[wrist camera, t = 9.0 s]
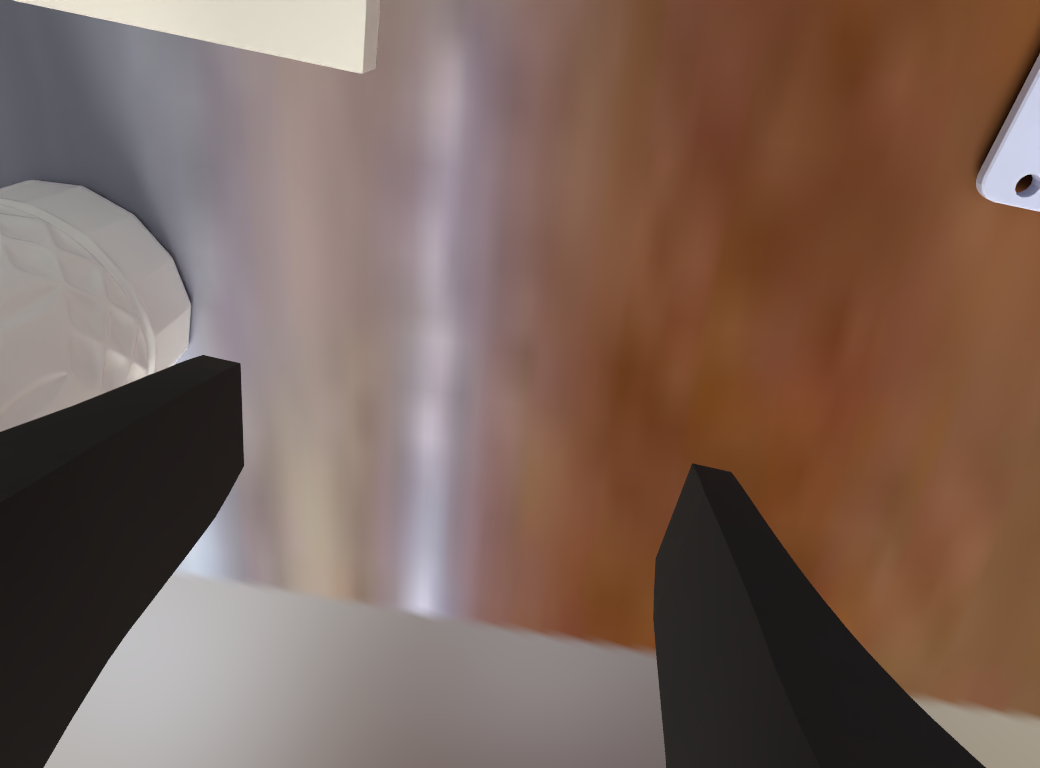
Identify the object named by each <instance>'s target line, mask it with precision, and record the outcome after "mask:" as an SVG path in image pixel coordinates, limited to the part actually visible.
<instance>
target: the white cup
mask: <svg viewBox="0 0 1040 768" xmlns="http://www.w3.org/2000/svg"><path fill="white" fill-rule="evenodd" d="M190 317H191V303H190V300H189V298H188V295H187V293H186V290H185V288H184V285H183V283H182V280H181V277H180V275H179V272H178V270H177V268H176V265H175V263H174V260H173V258H172V257H171V255H170V254H169V253H168V252H167V251H166V250H165V249H164V248H163V246H162V245H161V244H160V243H159V242H158V241H157V240H156V239H155V237H154V236H153V235H152V234H151V233H150V232H149V231H148V230H147V228H146V227H145V226H144V225H143V224H142V223H141V222H140V221H139V219H138V218H137V217H136V216H135V215H134V214H132V213H130V212H129V211H127V210H125V209H123V208H121V207H120V206H118V205H116V204H114V203H112V202H111V201H109V200H107V199H105V198H104V197H102V196H100V195H98V194H96V193H95V192H93V191H91V190H89V189H88V188H86V187H84V186H79V185H71V184H63V183H54V182H46V181H38V180H28V181H24V182H20V183H17V184H13V185H10V186H7V187H3V188H0V432H1V431H4V430H7V429H9V428H12V427H15V426H18V425H21V424H23V423H26V422H29V421H32V420H34V419H37V418H40V417H43V416H46V415H48V414H51V413H54V412H57V411H59V410H62V409H65V408H68V407H71V406H73V405H76V404H78V403H81V402H83V401H86V400H88V399H91V398H93V397H96V396H98V395H101V394H103V393H106V392H108V391H111V390H113V389H116V388H118V387H121V386H123V385H126V384H128V383H131V382H133V381H136V380H138V379H141V378H143V377H145V376H148V375H150V374H153V373H155V372H158V371H160V370H163V369H165V368H168V367H170V366H173V365H175V364H176V363H177V361H178V360H179V359H180V357H181V356H182V355H183V354H184V352H185V351H186V350H187V348H188V346H189V332H190Z"/></svg>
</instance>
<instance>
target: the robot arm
mask: <svg viewBox="0 0 1040 768" xmlns="http://www.w3.org/2000/svg"><path fill="white" fill-rule="evenodd" d="M1031 174H1032V177H1033V179H1032V183H1031V185H1030V186H1029V187H1028V188H1027V189H1026V190H1024V191H1022V192H1020V193H1016V191H1015V187H1016V183H1017V182H1018V181H1019V180H1020V179H1021V178H1022V177H1024V176H1026V175H1031ZM976 186H977V190H978V191H979V193H980V194H981V195H982V196H983V197H985V198H987V199H989V200H991V201H993V202H997V203H1001V204H1006V205H1011V206H1015V207H1020V208H1025V209H1030V210H1034V211H1039V212H1040V54H1039V56H1038V58H1037V60H1036V62H1035V64H1034V66H1033V68H1032V70H1031V71H1030V73H1029V75H1028V77H1027V79H1026V81H1025V83H1024V85H1023V87H1022V89H1021V91H1020V93H1019V95H1018V97H1017V99H1016V101H1015V103H1014V105H1013V107H1012V109H1011V111H1010V112H1009V114H1008V116H1007V118H1006V120H1005V122H1004V124H1003V126H1002V128H1001V130H1000V132H999V134H998V136H997V138H996V140H995V142H994V144H993V146H992V148H991V150H990V152H989V153H988V155H987V157H986V159H985V161H984V163H983V165H982V167H981V169H980V171H979V173H978V176H977V180H976ZM243 467H244V453H243V424H242V395H241V366H240V363H236V362H232V361H227V360H223V359H218V358H214V357H209V356H205V355H202V356H199V357H196V358H192V359H189V360H186V361H184V362H181V363H178V364H176V365H173V366H170V367H168V368H165V369H163V370H160V371H158V372H155V373H153V374H150V375H148V376H145V377H143V378H141V379H138V380H136V381H133V382H131V383H128V384H126V385H123V386H121V387H118V388H116V389H113V390H111V391H108V392H106V393H103V394H101V395H98V396H96V397H93V398H91V399H88V400H86V401H83V402H81V403H78V404H76V405H73V406H71V407H68V408H65V409H62V410H59V411H57V412H54V413H51V414H48V415H46V416H43V417H40V418H37V419H34V420H32V421H29V422H26V423H23V424H21V425H18V426H15V427H12V428H9V429H7V430H4V431H1V432H0V768H43V767H44V766H45V764H46V762H47V761H48V759H49V757H50V755H51V754H52V752H53V750H54V749H55V747H56V745H57V743H58V742H59V740H60V738H61V737H62V735H63V733H64V731H65V730H66V728H67V726H68V725H69V723H70V721H71V720H72V718H73V716H74V714H75V713H76V711H77V710H78V708H79V706H80V705H81V703H82V702H83V700H84V698H85V697H86V695H87V694H88V692H89V690H90V689H91V687H92V686H93V684H94V682H95V681H96V679H97V677H98V676H99V674H100V672H101V671H102V669H103V668H104V666H105V664H106V663H107V661H108V659H109V658H110V657H111V655H112V654H113V653H114V651H115V650H116V648H117V647H118V645H119V644H120V643H121V641H122V639H123V638H124V637H125V636H126V634H127V633H128V631H129V630H130V629H131V627H132V626H133V625H134V623H135V622H136V621H137V620H138V618H139V617H140V616H141V614H142V613H143V612H144V611H145V609H146V608H147V607H148V605H149V604H150V603H151V601H152V600H153V599H154V598H155V596H156V595H157V594H158V592H159V591H160V590H161V588H162V587H163V586H164V584H165V583H166V582H167V581H168V579H169V578H170V577H171V575H172V574H173V573H174V571H175V570H176V569H177V568H178V566H179V565H180V564H181V562H182V561H183V560H184V558H185V557H186V556H187V555H188V553H189V552H190V551H191V549H192V548H193V547H194V545H195V544H196V543H197V541H198V540H199V539H200V537H201V536H202V535H203V533H204V532H205V531H206V529H207V528H208V527H209V525H210V524H211V522H212V521H213V520H214V518H215V517H216V515H217V513H218V512H219V510H220V508H221V506H222V505H223V503H224V501H225V500H226V498H227V496H228V495H229V493H230V491H231V489H232V487H233V485H234V483H235V482H236V480H237V478H238V476H239V474H240V472H241V470H242V469H243ZM653 618H654V631H655V643H656V655H657V667H658V677H659V689H660V699H661V711H662V722H663V731H664V732H663V733H664V743H665V755H666V768H986V767H984V766H983V765H982V764H981V763H980V762H979V761H978V760H976V759H975V758H974V757H973V756H972V755H971V754H970V753H969V752H968V751H967V750H966V749H965V748H964V747H962V746H961V745H960V744H959V743H958V742H957V741H956V740H955V739H954V738H953V737H952V736H951V735H950V734H948V733H947V732H946V731H945V730H944V729H943V728H942V727H941V726H940V725H939V724H938V723H937V722H935V721H934V720H933V719H932V718H931V717H930V716H929V715H928V714H927V713H926V712H925V711H924V710H923V709H922V708H921V707H920V706H919V705H918V704H917V703H916V702H915V701H914V700H913V699H912V698H911V697H910V696H909V695H908V694H907V693H906V692H905V691H904V690H903V689H902V688H901V687H900V686H899V685H898V684H897V683H896V681H895V680H894V679H893V678H892V677H891V676H890V675H889V674H888V673H887V672H886V671H885V670H884V669H883V668H882V667H881V666H880V665H879V664H878V662H877V661H876V660H875V659H874V658H873V657H872V656H871V655H870V654H869V653H868V652H867V651H866V650H865V648H864V647H863V646H862V645H861V644H860V643H859V642H858V641H857V639H856V638H855V637H854V636H853V635H852V634H851V633H850V631H849V630H848V629H847V628H846V627H845V625H844V624H843V623H842V622H841V621H840V619H839V618H838V617H837V616H836V614H835V613H834V612H833V611H832V610H831V608H830V607H829V606H828V605H827V604H826V602H825V601H824V600H823V599H822V597H821V596H820V595H819V594H818V592H817V591H816V590H815V588H814V587H813V586H812V585H811V583H810V582H809V581H808V579H807V578H806V577H805V576H804V574H803V573H802V572H801V570H800V569H799V568H798V566H797V565H796V564H795V562H794V561H793V559H792V558H791V557H790V555H789V554H788V553H787V551H786V550H785V548H784V547H783V546H782V544H781V543H780V541H779V540H778V539H777V537H776V536H775V534H774V533H773V531H772V530H771V529H770V527H769V526H768V524H767V523H766V521H765V520H764V518H763V517H762V516H761V514H760V513H759V511H758V510H757V508H756V507H755V505H754V504H753V502H752V501H751V500H750V498H749V497H748V495H747V494H746V492H745V491H744V489H743V488H742V486H741V485H740V484H739V482H738V481H737V479H736V478H735V477H734V475H733V474H732V473H731V472H728V471H724V470H719V469H715V468H710V467H706V466H701V465H697V464H692V465H691V468H690V471H689V473H688V476H687V479H686V481H685V484H684V486H683V489H682V492H681V494H680V497H679V499H678V502H677V505H676V507H675V510H674V512H673V515H672V518H671V520H670V523H669V525H668V528H667V531H666V533H665V536H664V538H663V541H662V544H661V546H660V549H659V551H658V554H657V557H656V565H655V585H654V614H653Z"/></svg>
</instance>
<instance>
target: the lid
mask: <svg viewBox="0 0 1040 768" xmlns="http://www.w3.org/2000/svg"><path fill="white" fill-rule="evenodd" d="M13 1H18V2H23V3H28V4H32V5H37V6H42V7H47V8H51V9H56V10H61V11H66V12H70V13H75V14H80V15H85V16H89V17H94V18H99V19H104V20H109V21H113V22H118V23H123V24H128V25H132V26H137V27H142V28H147V29H151V30H156V31H161V32H166V33H170V34H175V35H180V36H185V37H189V38H194V39H199V40H204V41H208V42H213V43H218V44H223V45H227V46H232V47H237V48H242V49H246V50H251V51H256V52H261V53H266V54H270V55H275V56H280V57H285V58H289V59H294V60H299V61H304V62H308V63H313V64H318V65H323V66H327V67H332V68H337V69H342V70H346V71H351V72H356V73H361V74H364V73H366V72H369V71H371V70H374V69H376V57H377V41H378V25H379V10H380V0H13Z"/></svg>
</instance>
